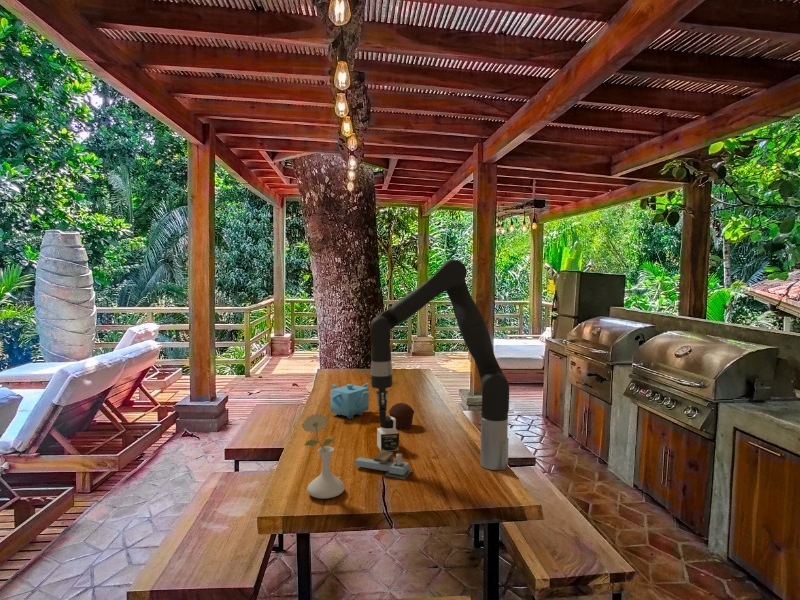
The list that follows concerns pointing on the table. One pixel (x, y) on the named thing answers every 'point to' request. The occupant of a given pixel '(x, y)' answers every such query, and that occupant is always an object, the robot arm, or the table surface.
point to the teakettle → (349, 400)
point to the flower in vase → (326, 481)
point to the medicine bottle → (388, 435)
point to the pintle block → (399, 464)
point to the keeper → (384, 457)
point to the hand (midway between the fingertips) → (382, 421)
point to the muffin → (402, 415)
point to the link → (382, 466)
